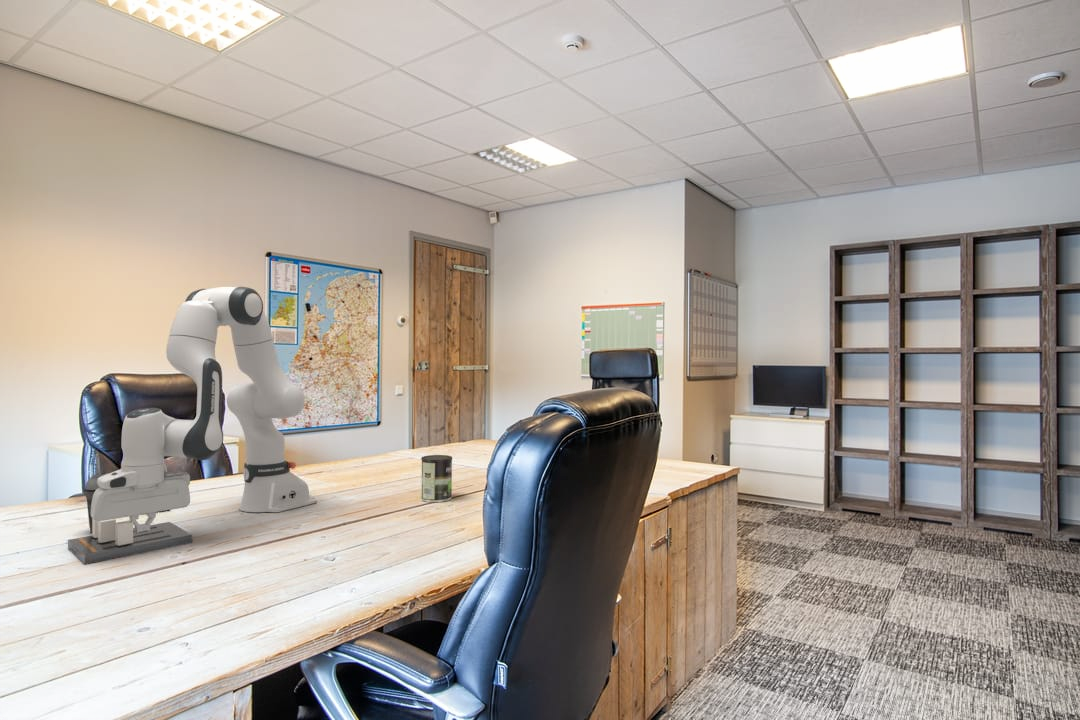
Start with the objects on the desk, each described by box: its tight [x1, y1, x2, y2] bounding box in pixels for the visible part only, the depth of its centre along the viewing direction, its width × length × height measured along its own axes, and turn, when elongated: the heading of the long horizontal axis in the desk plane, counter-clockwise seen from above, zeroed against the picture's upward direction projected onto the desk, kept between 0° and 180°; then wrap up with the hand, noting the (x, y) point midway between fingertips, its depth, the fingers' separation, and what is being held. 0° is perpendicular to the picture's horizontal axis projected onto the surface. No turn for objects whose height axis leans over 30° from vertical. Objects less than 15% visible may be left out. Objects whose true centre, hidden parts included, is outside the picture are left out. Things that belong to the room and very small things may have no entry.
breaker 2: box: [98, 519, 117, 543], centre depth 143 cm, size 3×2×5 cm
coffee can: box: [420, 454, 453, 503], centre depth 199 cm, size 10×10×14 cm
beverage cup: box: [83, 456, 108, 534], centre depth 158 cm, size 7×7×20 cm
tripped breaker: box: [115, 519, 134, 546], centre depth 141 cm, size 3×2×5 cm
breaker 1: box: [91, 518, 98, 538], centre depth 147 cm, size 3×2×5 cm
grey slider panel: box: [67, 521, 193, 565], centre depth 147 cm, size 22×17×2 cm
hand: (142, 531), depth 144 cm, fingers closed
